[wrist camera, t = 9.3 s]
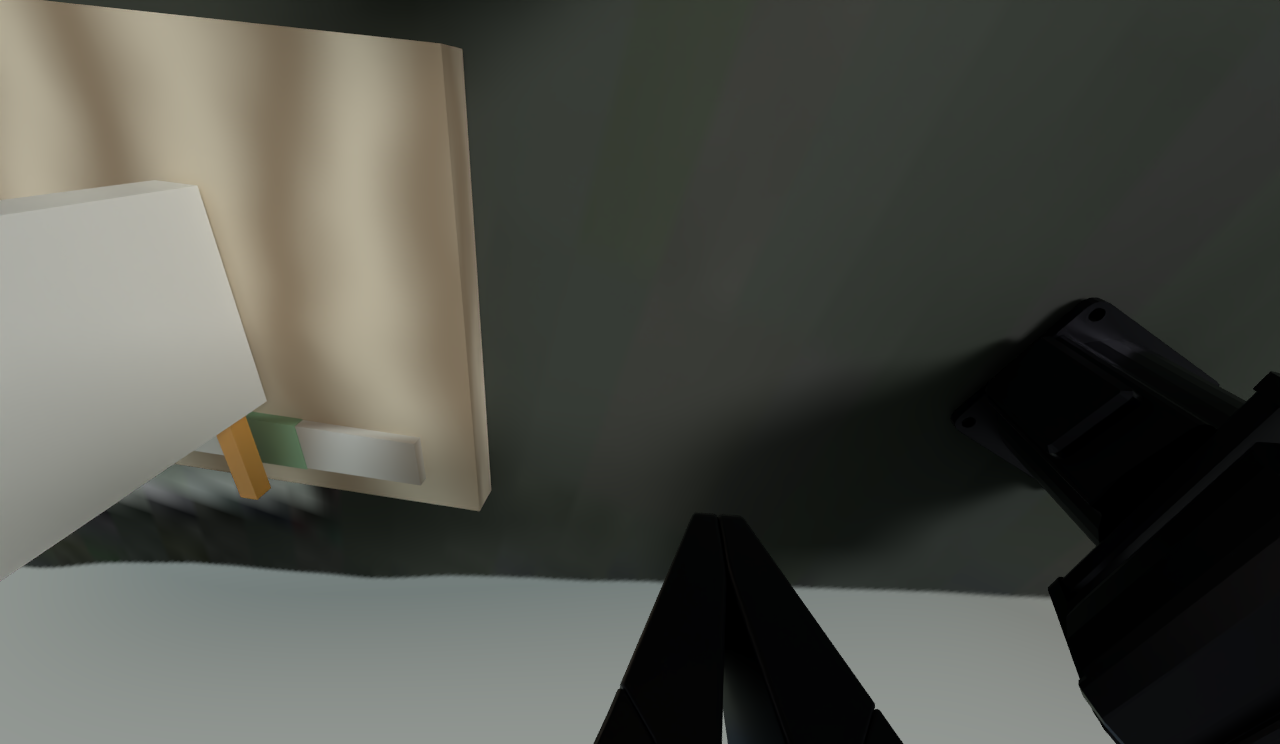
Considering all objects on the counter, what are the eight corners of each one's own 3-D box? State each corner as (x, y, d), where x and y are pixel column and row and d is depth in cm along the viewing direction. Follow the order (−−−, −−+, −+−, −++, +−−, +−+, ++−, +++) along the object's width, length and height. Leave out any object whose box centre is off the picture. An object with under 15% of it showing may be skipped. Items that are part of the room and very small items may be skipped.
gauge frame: (462, 49, 16) (-68, -84, 5) (491, 490, 25) (328, 786, 14) (-259, -30, 17) (-1961, -275, 6) (20, 418, 26) (-466, 638, 15)
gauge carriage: (197, 185, 17) (-449, 284, 7) (291, 477, 24) (9, 732, 14) (49, 166, 17) (-758, 238, 8) (182, 460, 24) (-169, 699, 14)
